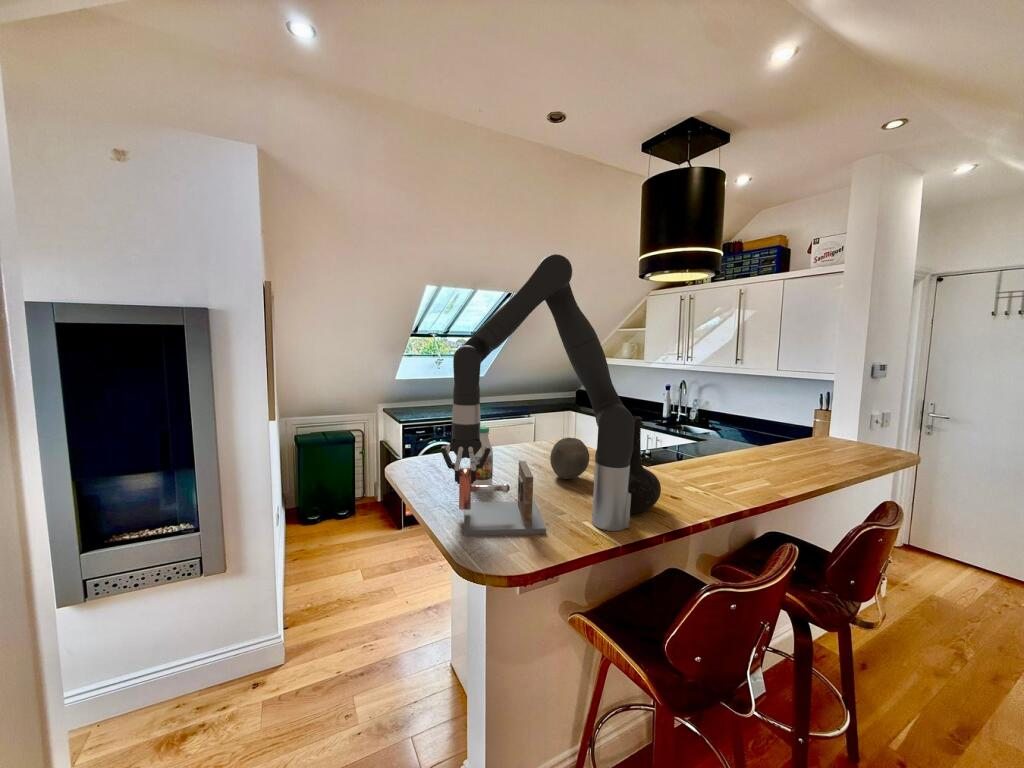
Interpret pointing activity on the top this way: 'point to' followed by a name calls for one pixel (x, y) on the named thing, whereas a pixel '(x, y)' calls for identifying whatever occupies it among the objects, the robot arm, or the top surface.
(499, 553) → the top surface
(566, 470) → the dark brown ball
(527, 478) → the brown wooden panel
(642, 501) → the dark bulbous vase
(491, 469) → the milk bottle
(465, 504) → the copper disc with rod
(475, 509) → the base board
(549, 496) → the top surface
